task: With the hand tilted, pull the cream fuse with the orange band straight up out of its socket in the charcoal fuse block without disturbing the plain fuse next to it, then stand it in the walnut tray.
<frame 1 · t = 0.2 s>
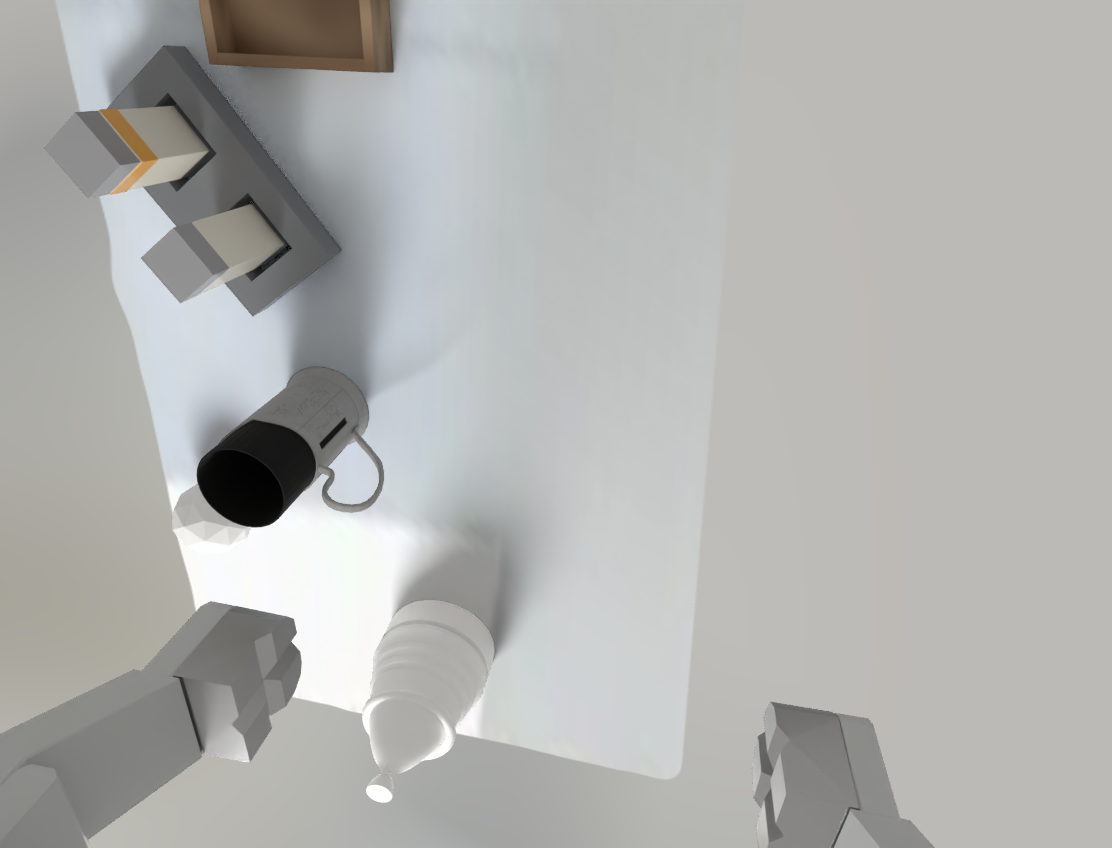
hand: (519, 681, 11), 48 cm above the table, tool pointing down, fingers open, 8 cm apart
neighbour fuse: (265, 232, 60), resting in fuse block
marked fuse: (192, 141, 57), resting in fuse block
fuse block: (229, 187, 58), on the table
honey pot: (442, 640, 80), on the table
grey mug: (353, 414, 67), on the table
ball: (235, 496, 75), on the table
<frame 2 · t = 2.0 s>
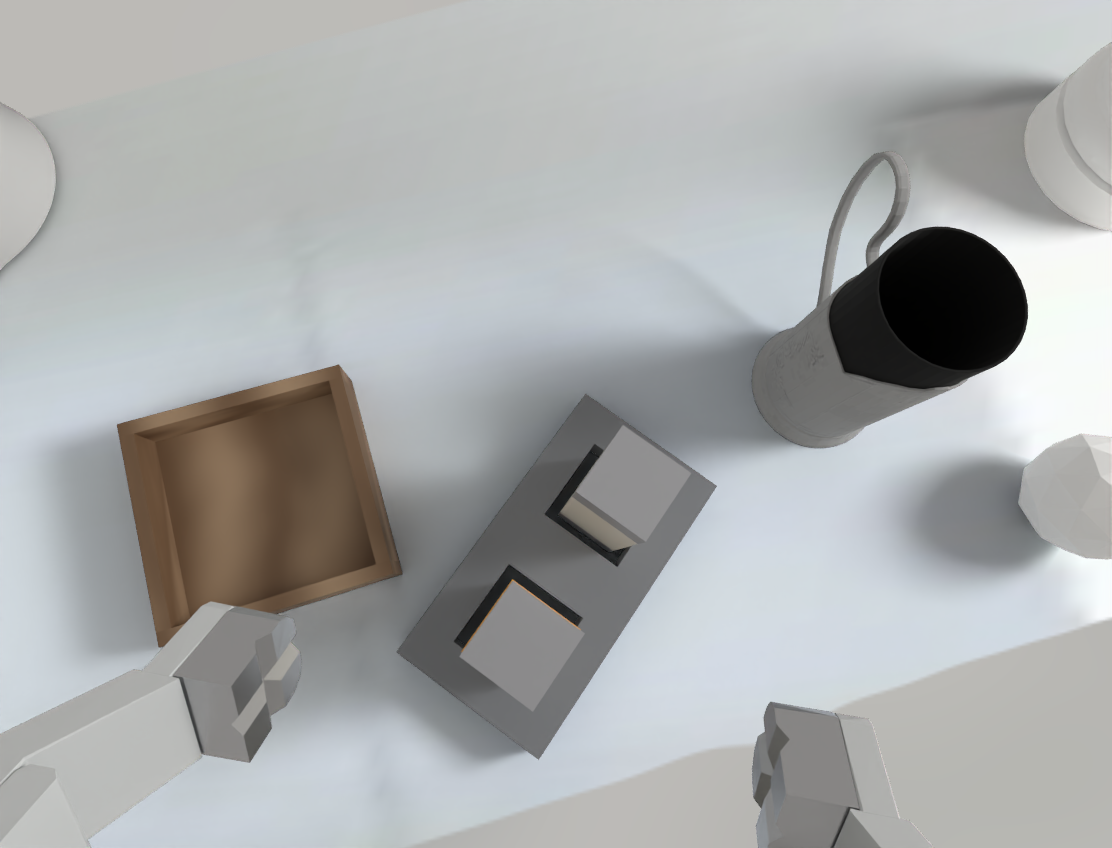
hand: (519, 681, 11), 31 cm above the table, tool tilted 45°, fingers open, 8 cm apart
tray: (274, 504, 42), on the table
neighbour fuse: (600, 508, 44), resting in fuse block
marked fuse: (518, 626, 42), resting in fuse block
fuse block: (560, 566, 43), on the table
honey pot: (1100, 158, 53), on the table
grey mug: (805, 349, 48), on the table
ball: (1045, 503, 46), on the table
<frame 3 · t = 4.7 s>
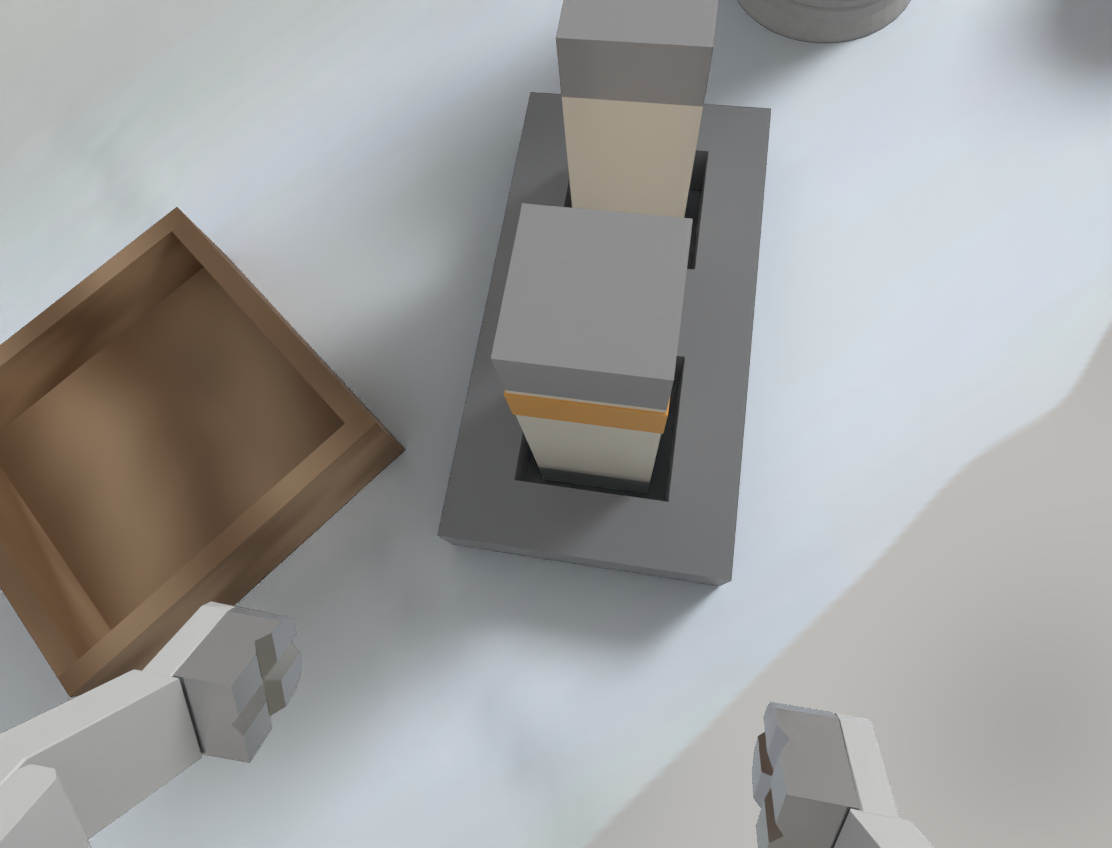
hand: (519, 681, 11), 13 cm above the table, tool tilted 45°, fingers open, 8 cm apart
tray: (187, 449, 28), on the table
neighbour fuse: (631, 238, 29), resting in fuse block
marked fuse: (602, 437, 27), resting in fuse block
fuse block: (617, 332, 28), on the table
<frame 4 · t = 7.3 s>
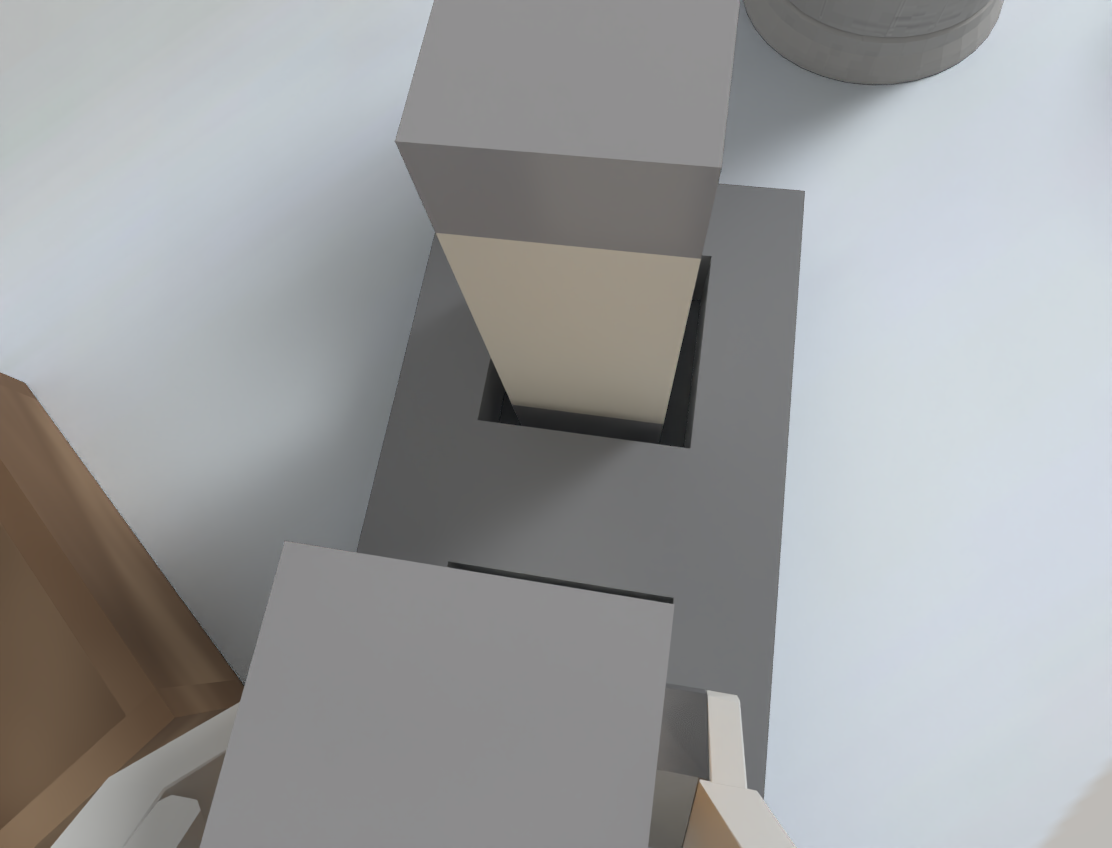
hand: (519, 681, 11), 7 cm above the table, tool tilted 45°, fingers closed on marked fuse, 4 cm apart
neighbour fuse: (599, 372, 20), resting in fuse block
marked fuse: (549, 691, 18), resting in fuse block, touching gripper
fuse block: (576, 521, 19), on the table
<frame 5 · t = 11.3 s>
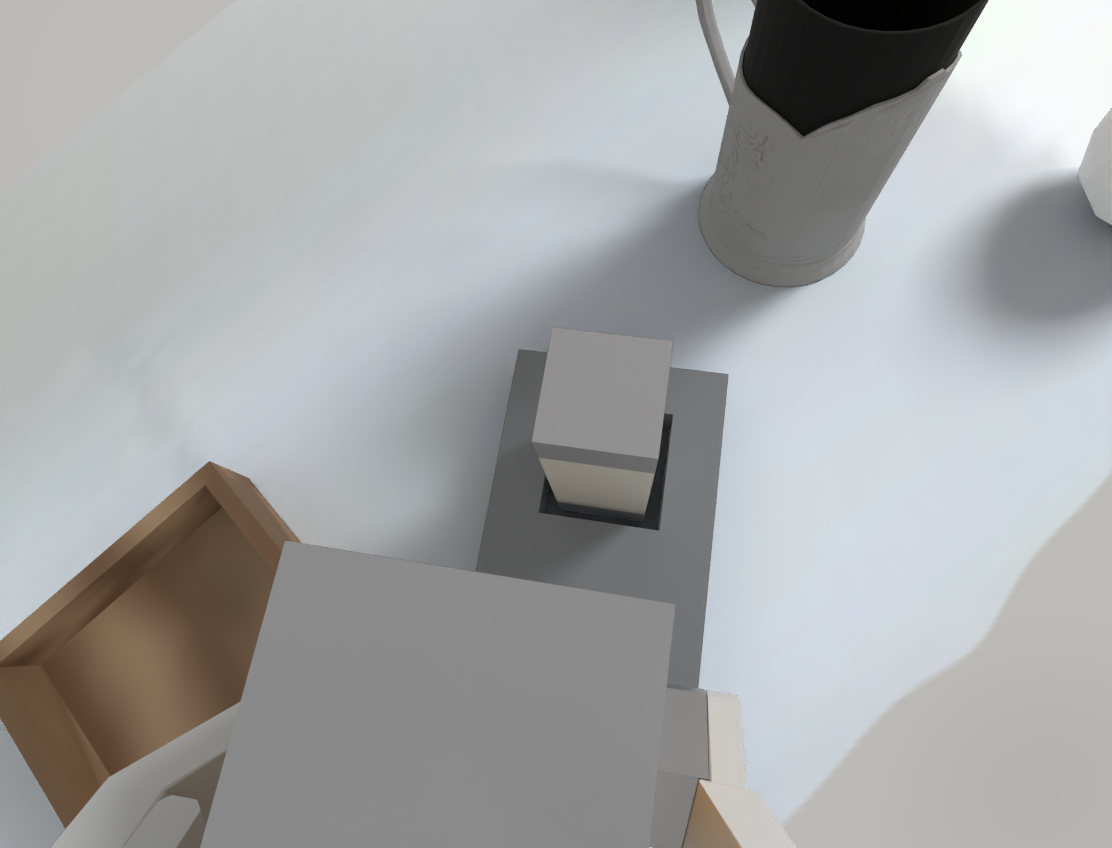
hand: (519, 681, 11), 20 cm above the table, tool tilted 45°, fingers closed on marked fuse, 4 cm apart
tray: (217, 668, 32), on the table
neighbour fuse: (607, 475, 33), resting in fuse block
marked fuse: (549, 691, 18), point 14 cm above the table, touching gripper
fuse block: (593, 567, 32), on the table
grey mug: (749, 182, 38), on the table
when the fingers open (9 cm above the table, at t = 15.3 s): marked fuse drops 1 cm, resting on tray.
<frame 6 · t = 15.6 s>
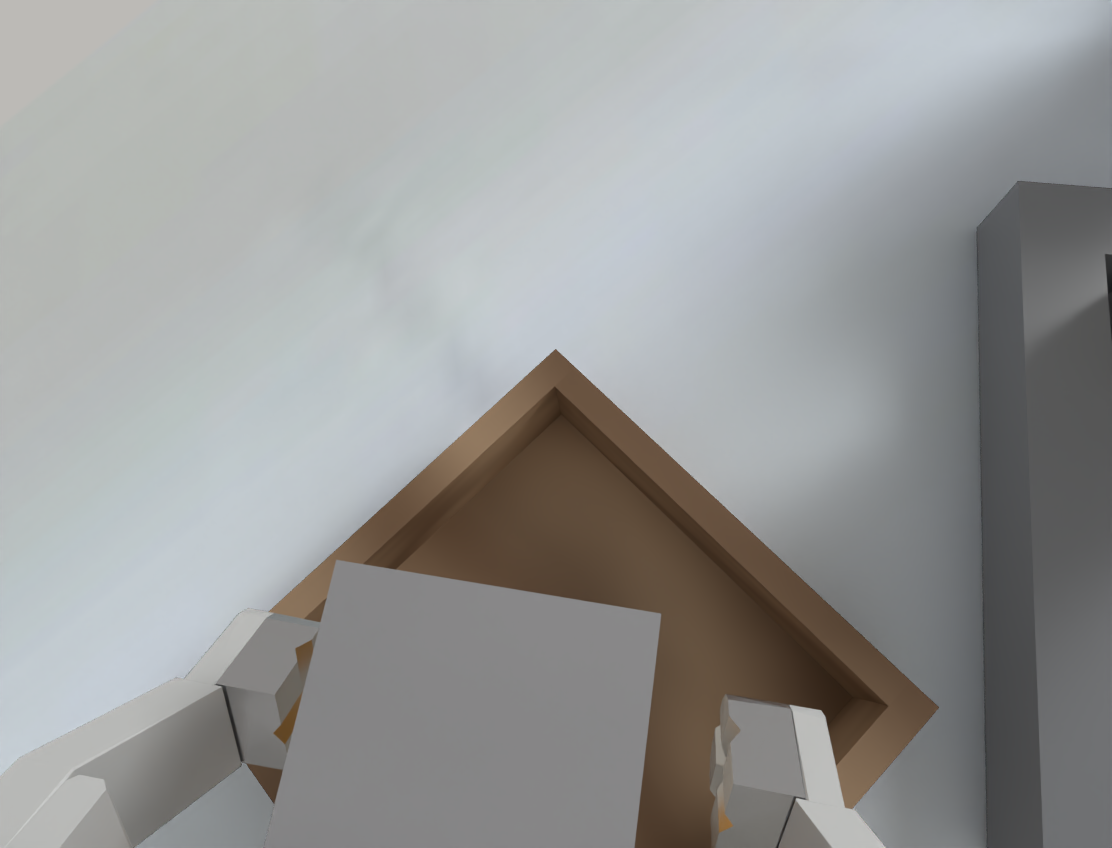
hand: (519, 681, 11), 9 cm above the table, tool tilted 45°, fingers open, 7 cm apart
tray: (558, 685, 20), on the table
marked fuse: (553, 689, 19), point 1 cm above the table, touching tray
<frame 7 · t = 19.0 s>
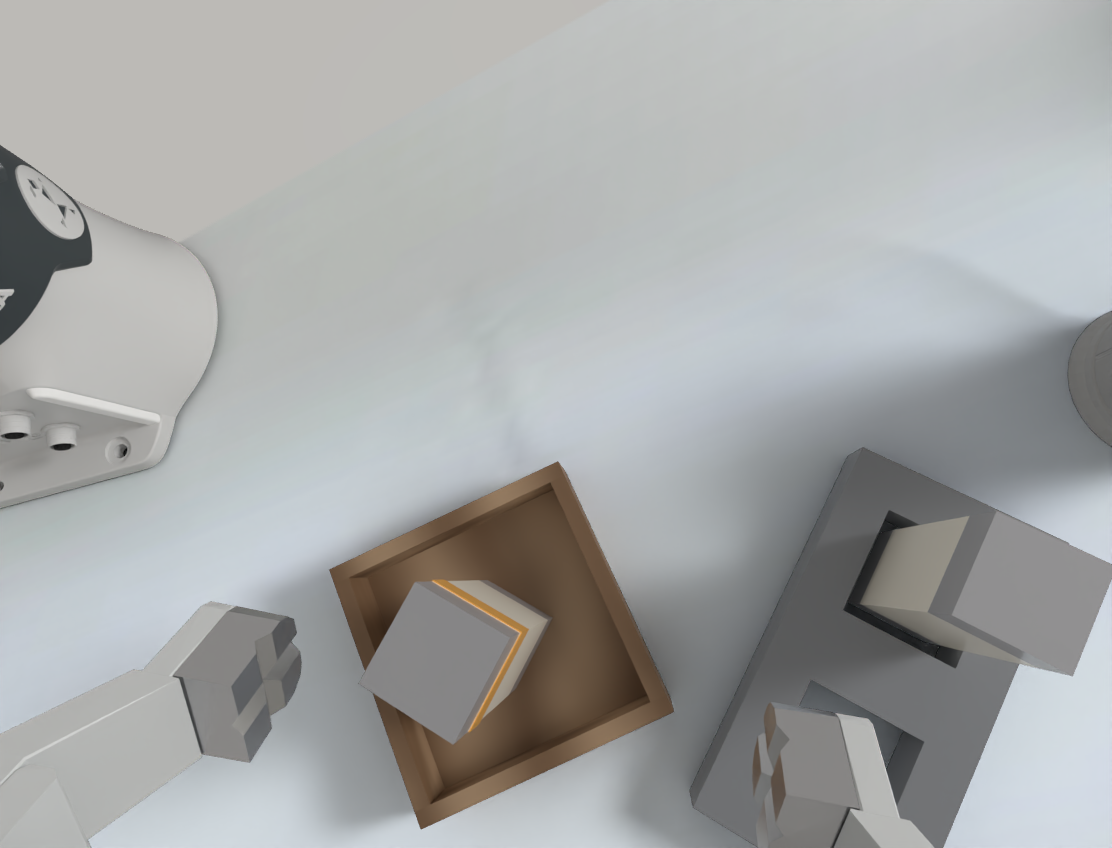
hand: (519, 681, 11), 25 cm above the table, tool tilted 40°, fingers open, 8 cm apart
tray: (506, 631, 36), on the table
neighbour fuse: (901, 586, 35), resting in fuse block
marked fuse: (501, 633, 35), point 1 cm above the table, touching tray
fuse block: (865, 667, 34), on the table
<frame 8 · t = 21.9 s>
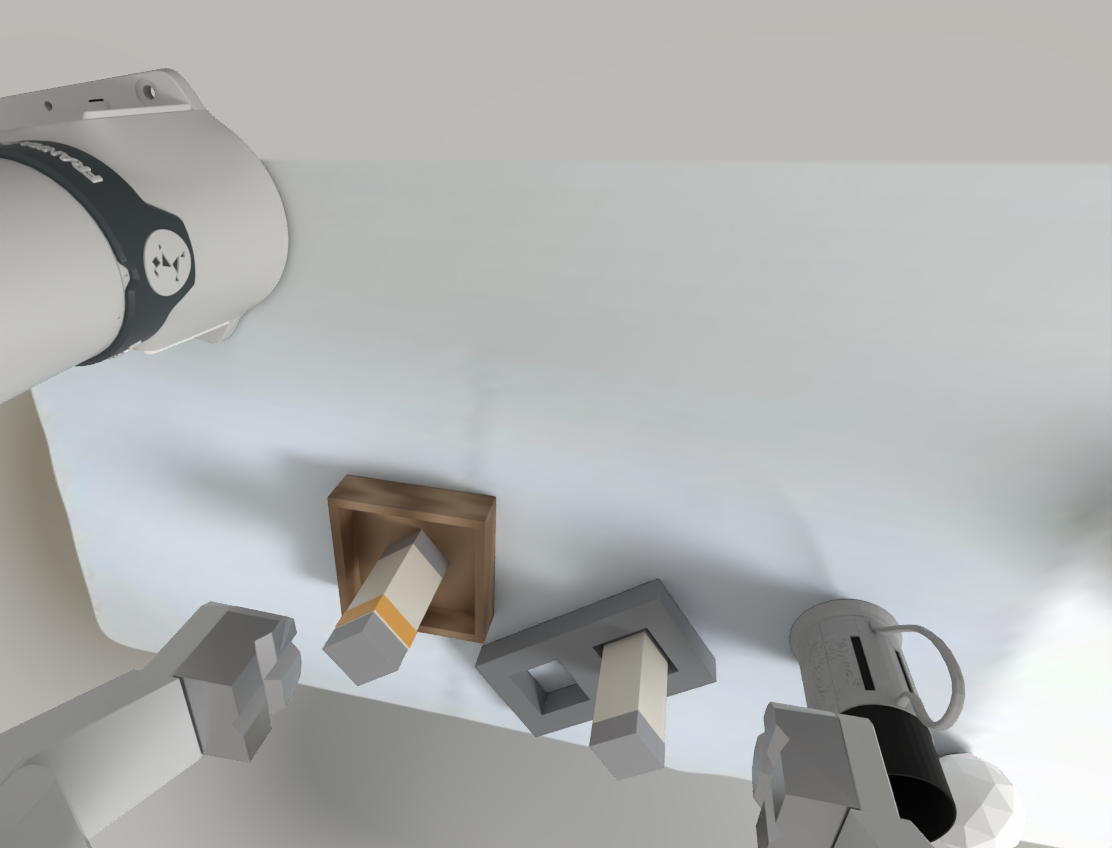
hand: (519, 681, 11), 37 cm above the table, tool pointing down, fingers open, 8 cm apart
tray: (423, 547, 60), on the table
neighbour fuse: (637, 637, 60), resting in fuse block
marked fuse: (418, 554, 59), point 1 cm above the table, touching tray
fuse block: (594, 652, 62), on the table
grey mug: (859, 615, 55), on the table
ball: (953, 762, 61), on the table
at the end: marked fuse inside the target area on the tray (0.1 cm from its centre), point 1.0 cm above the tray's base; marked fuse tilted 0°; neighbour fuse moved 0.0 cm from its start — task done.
